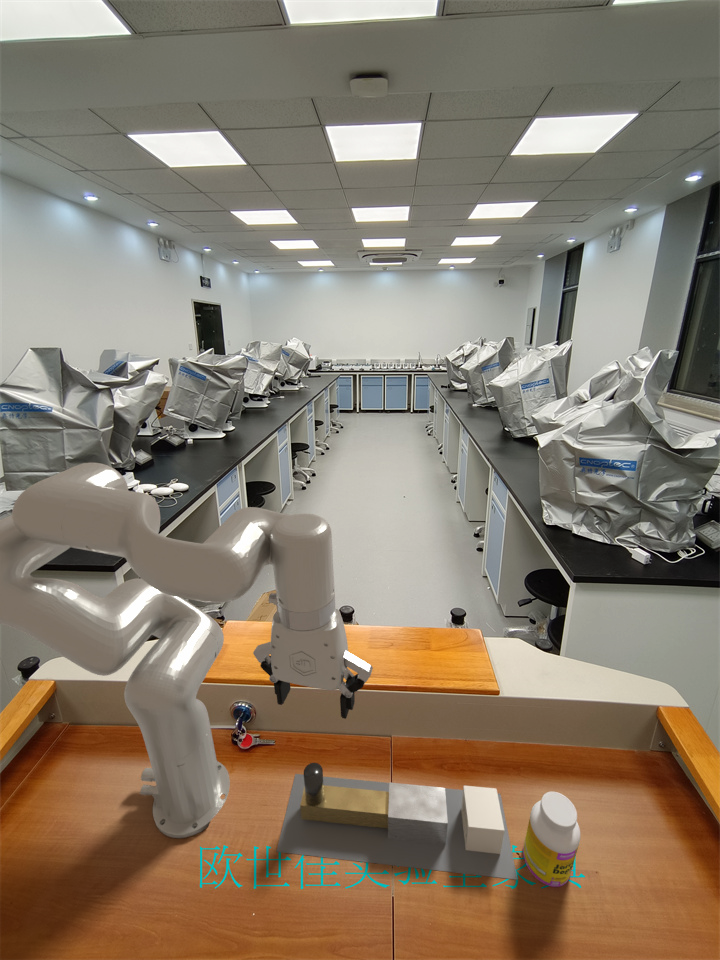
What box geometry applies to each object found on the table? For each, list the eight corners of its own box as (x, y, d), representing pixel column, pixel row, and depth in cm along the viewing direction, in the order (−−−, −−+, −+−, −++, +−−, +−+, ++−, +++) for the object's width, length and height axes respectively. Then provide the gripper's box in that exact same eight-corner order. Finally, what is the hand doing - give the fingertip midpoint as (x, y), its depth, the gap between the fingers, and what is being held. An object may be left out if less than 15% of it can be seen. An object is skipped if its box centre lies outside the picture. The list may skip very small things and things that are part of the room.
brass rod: (301, 819, 69) (298, 781, 65) (306, 797, 72) (303, 760, 69) (439, 834, 66) (442, 795, 63) (437, 810, 70) (440, 773, 66)
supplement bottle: (548, 902, 60) (562, 845, 56) (512, 853, 66) (523, 798, 61) (579, 875, 63) (595, 819, 58) (543, 830, 68) (555, 776, 64)
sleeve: (387, 838, 67) (388, 817, 65) (389, 803, 71) (389, 782, 70) (445, 844, 66) (447, 823, 64) (443, 808, 71) (444, 787, 69)
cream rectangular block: (465, 850, 65) (468, 826, 63) (461, 808, 71) (463, 785, 69) (500, 853, 65) (504, 830, 63) (493, 811, 70) (496, 788, 68)
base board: (277, 856, 66) (276, 851, 65) (295, 778, 77) (295, 773, 76) (516, 884, 62) (517, 879, 62) (499, 798, 73) (500, 793, 73)
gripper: (233, 614, 55) (248, 713, 61) (363, 635, 50) (366, 739, 56) (260, 581, 61) (271, 673, 67) (377, 598, 57) (378, 694, 63)
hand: (314, 703), depth 62 cm, fingers open, 9 cm apart
